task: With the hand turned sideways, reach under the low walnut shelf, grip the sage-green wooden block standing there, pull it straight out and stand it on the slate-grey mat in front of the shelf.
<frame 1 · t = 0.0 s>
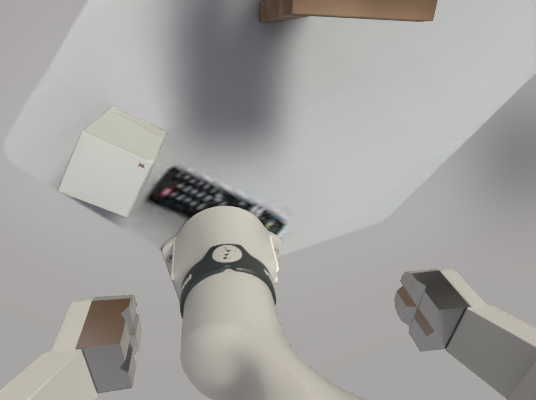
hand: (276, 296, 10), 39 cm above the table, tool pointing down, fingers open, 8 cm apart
supplement box: (130, 142, 46), on the table
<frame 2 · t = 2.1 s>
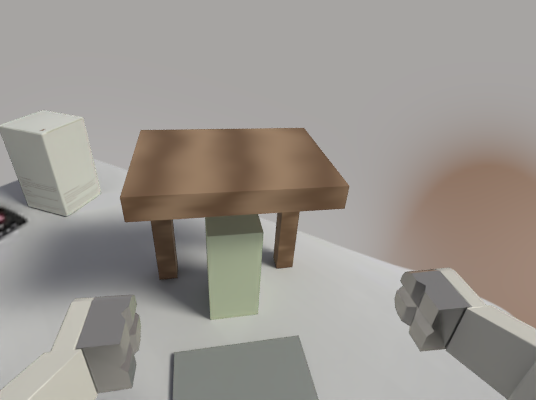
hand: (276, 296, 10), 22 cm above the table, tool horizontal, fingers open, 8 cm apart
sage block: (231, 298, 38), on the table
slate mat: (245, 398, 29), on the table
supplement box: (66, 201, 53), on the table
shelf stand: (231, 298, 38), on the table
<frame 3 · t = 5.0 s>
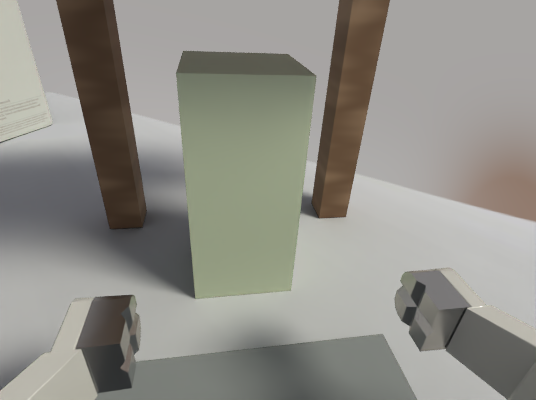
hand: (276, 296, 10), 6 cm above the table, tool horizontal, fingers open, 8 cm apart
sage block: (239, 262, 20), on the table
shelf stand: (239, 261, 20), on the table
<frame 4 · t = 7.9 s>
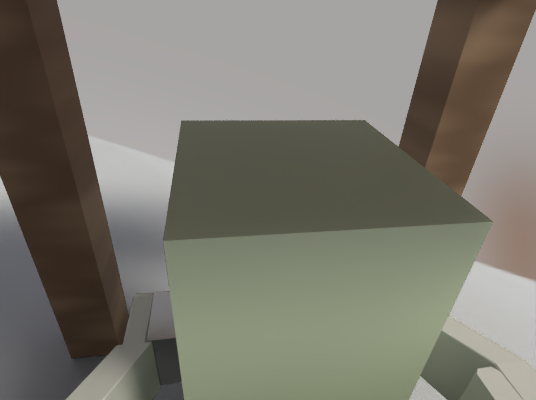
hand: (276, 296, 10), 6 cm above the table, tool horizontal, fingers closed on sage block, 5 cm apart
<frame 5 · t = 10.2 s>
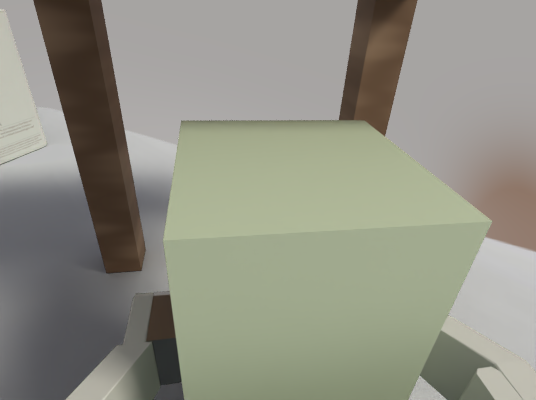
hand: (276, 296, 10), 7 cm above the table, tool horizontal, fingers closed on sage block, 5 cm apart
shelf stand: (246, 312, 19), on the table
when the fingers open (7 cm above the table, at t = 12.3 s): sage block stays where it is, resting on slate mat.
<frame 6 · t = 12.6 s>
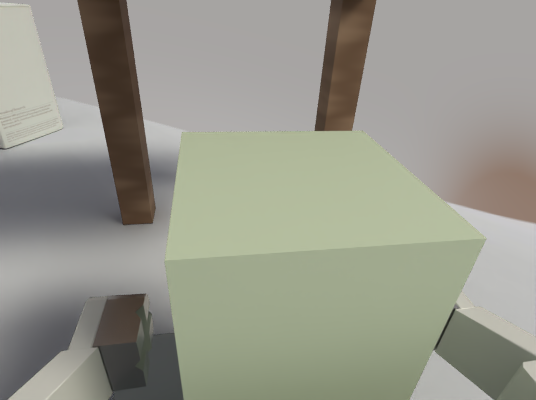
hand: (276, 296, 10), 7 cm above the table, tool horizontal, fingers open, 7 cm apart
supplement box: (13, 135, 38), on the table
shelf stand: (240, 253, 22), on the table
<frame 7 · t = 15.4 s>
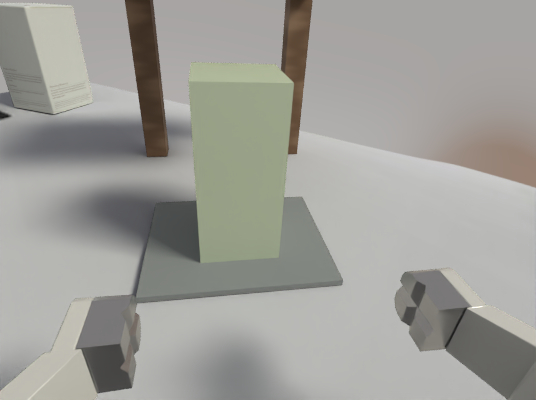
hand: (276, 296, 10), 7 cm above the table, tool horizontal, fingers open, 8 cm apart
sage block: (237, 236, 24), resting on slate mat
slate mat: (236, 240, 24), on the table
supplement box: (55, 106, 49), on the table
shelf stand: (227, 171, 33), on the table
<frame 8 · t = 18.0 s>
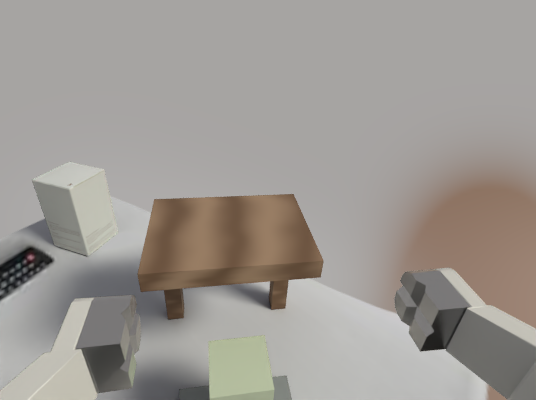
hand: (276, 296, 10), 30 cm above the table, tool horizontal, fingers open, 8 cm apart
supplement box: (87, 240, 59), on the table
shelf stand: (230, 338, 44), on the table
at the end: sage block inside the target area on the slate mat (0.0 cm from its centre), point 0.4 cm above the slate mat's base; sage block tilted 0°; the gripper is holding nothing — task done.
